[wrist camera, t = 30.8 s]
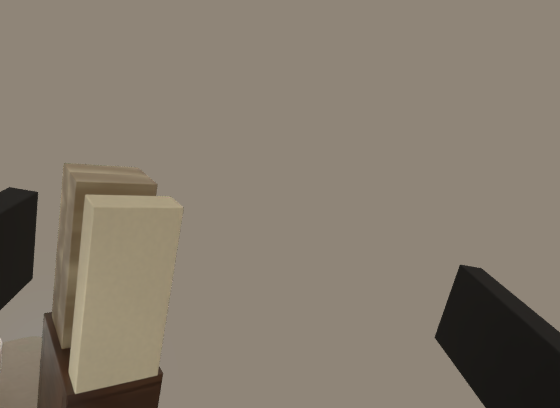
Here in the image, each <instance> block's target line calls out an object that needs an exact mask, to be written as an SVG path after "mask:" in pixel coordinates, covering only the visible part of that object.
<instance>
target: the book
mask: <svg viewBox="0 0 560 408" xmlns="http://www.w3.org/2000/svg"><path fill="white" fill-rule="evenodd" d="M183 209H184V208H183V207H182V206H181V205H180V204H179V203H178V202H177V201H176V200H174V199H173V198H172V197H171V196H131V195H85V200H84V211H83V222H82V232H81V243H80V254H79V265H78V275H77V286H76V297H75V307H74V318H73V329H72V340H71V350H70V361H69V376H70V379H71V382H72V386H73V389H74V392H75V394H78V393H82V392H87V391H91V390H96V389H100V388H104V387H109V386H113V385H118V384H122V383H126V382H131V381H135V380H140V379H144V378H148V377H153V376H157V375H158V369H159V362H160V356H161V350H162V344H163V337H164V331H165V324H166V318H167V311H168V305H169V299H170V292H171V286H172V280H173V274H174V267H175V261H176V254H177V248H178V242H179V235H180V228H181V222H182V216H183Z"/></svg>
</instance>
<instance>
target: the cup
mask: <svg viewBox="0 0 560 408" xmlns="http://www.w3.org/2000/svg"><path fill="white" fill-rule="evenodd" d="M2 345H3V343H2V340H1V337H0V372H1V368H2Z"/></svg>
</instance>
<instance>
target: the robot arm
mask: <svg viewBox="0 0 560 408" xmlns="http://www.w3.org/2000/svg"><path fill="white" fill-rule="evenodd" d="M37 200H38V192H34V191H28V190H23V189H17V188H10V187H9V188H7V189H6V190H3V191H1V192H0V310H1V309H2V308H3V307H4V306H5V305H6V304H7V303H8V302H9V301H10V300H11V299H12V298H13V297H14V296H15V295H16V294H17V293H18V292H19V291H20V290H21V289H22V288H23V287H24V286H25V285H26V284H27V283H29V282H30V281H31V279H32V278H33V262H34V246H35V231H36V216H37ZM435 338H436V340H437V341H438V343H439V344H440V345H441V347H442V348H443V350H444V351H445V352H446V354H447V355H448V357H449V358H450V359H451V361H452V362H453V363H454V365H455V366H456V367H457V369H458V370H459V372H460V373H461V374H462V376H463V377H464V379H465V380H466V381H467V383H468V384H469V385H470V387H471V388H472V390H473V391H474V392H475V394H476V395H477V396H478V398H479V399H480V401H481V402H482V403H483V405H484V406H485V407H486V408H560V332H559V331H557V330H556V329H555V328H554V327H552V326H551V325H550V324H549V323H547V322H546V321H545V320H544V319H543V318H541V317H540V316H539V315H538V314H537V313H535V312H534V311H533V310H532V309H530V308H529V307H528V306H527V305H526V304H524V303H523V302H522V301H521V300H519V299H518V298H517V297H516V296H514V295H513V294H512V293H511V292H510V291H508V290H507V289H506V288H505V287H504V286H502V285H501V284H500V283H499V282H498V281H496V280H495V279H494V278H493V277H491V276H490V275H489V274H488V273H487V272H485V271H484V270H483V269H481V268H476V267H471V266H465V265H460V266H459V269H458V272H457V275H456V278H455V281H454V283H453V286H452V289H451V292H450V295H449V298H448V301H447V303H446V306H445V309H444V312H443V315H442V318H441V321H440V323H439V326H438V329H437V332H436V335H435Z"/></svg>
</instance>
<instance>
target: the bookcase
mask: <svg viewBox="0 0 560 408" xmlns="http://www.w3.org/2000/svg"><path fill="white" fill-rule="evenodd" d="M63 167H64V168H63V179H62V193H61V204H60V218H59V230H58V244H57V256H56V268H55V281H54V294H53V307H52V312H49V313H45V314H44V321H43V336H42V348H41V362H40V376H39V389H38V403H37V408H158V401H159V395H160V390H161V383H162V377H163V372H162V370H161V369H160V367H159V369H158V375H157V376H153V377H148V378H144V379H140V380H135V381H131V382H126V383H122V384H118V385H113V386H109V387H104V388H100V389H96V390H91V391H87V392H82V393H78V394H75V392H74V389H73V386H72V382H71V379H70V376H69V361H70V350H71V340H72V329H73V318H74V307H75V297H76V286H77V275H78V265H79V254H80V243H81V232H82V222H83V211H84V200H85V195H131V196H156V192H157V184H156V183H155V182H154V181H153V180H152V179H151V178H150V177H148V176H147V175H146V174H145V173H144V172H142V171H141V170H140V169H139V168H136V167H119V166H102V165H87V164H70V163H64V166H63Z"/></svg>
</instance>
